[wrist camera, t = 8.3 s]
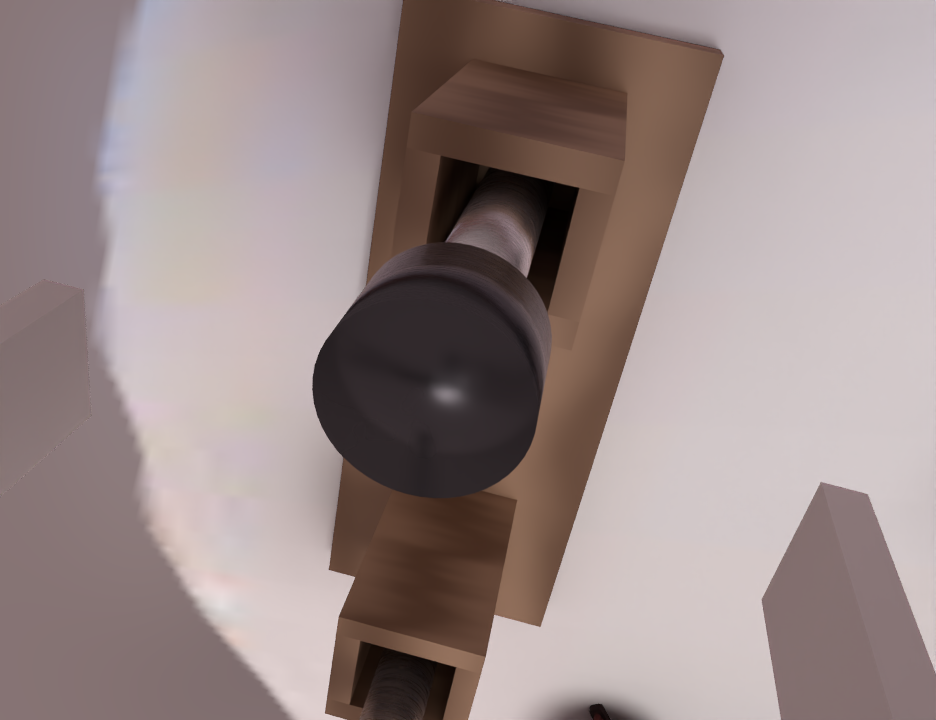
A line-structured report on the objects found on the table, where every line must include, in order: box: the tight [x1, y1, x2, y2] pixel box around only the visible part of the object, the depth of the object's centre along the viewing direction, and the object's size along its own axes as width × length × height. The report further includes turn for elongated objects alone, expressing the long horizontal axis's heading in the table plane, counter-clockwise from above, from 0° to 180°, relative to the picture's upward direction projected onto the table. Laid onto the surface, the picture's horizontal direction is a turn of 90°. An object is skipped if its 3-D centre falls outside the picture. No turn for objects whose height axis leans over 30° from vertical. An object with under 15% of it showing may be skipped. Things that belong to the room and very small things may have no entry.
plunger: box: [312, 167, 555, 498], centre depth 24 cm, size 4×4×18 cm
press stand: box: [325, 0, 724, 720], centre depth 34 cm, size 12×30×12 cm, turn 170°
